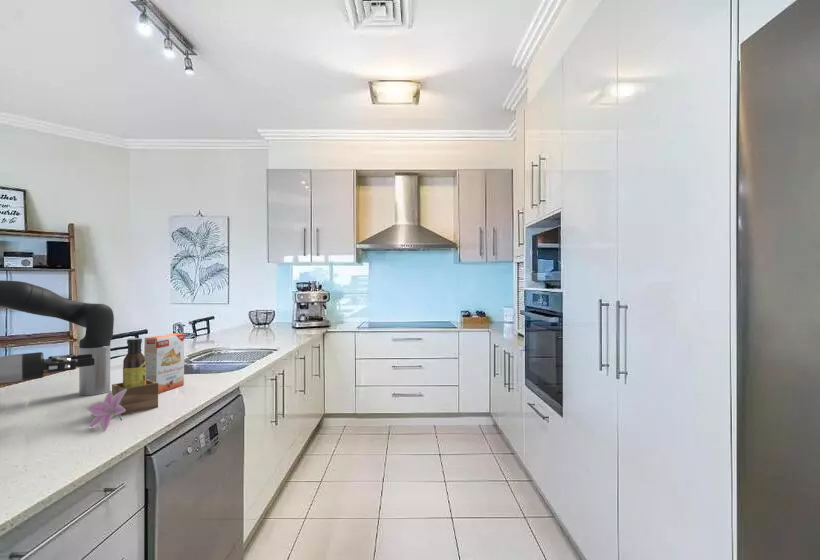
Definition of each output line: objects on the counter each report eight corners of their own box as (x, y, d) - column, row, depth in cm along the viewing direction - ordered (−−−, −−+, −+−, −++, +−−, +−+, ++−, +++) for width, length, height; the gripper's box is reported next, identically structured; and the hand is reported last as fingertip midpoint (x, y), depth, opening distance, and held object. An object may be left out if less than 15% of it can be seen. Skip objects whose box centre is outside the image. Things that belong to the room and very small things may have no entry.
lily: (88, 425, 120) (73, 402, 115) (132, 402, 127) (120, 379, 123) (100, 447, 113) (85, 424, 108) (145, 421, 120) (133, 398, 116)
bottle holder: (111, 408, 132) (112, 384, 132) (146, 401, 140) (146, 378, 140) (122, 415, 126) (122, 389, 126) (158, 407, 134) (158, 383, 134)
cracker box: (156, 394, 148) (156, 337, 148) (142, 394, 149) (143, 337, 150) (185, 385, 162) (185, 333, 162) (172, 384, 163) (172, 332, 163)
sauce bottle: (147, 399, 132) (148, 338, 132) (124, 403, 128) (125, 340, 128) (143, 395, 137) (143, 336, 137) (121, 399, 133) (121, 338, 133)
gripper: (19, 357, 109) (95, 350, 120) (21, 350, 120) (91, 344, 131) (19, 385, 110) (95, 375, 120) (22, 375, 120) (91, 367, 131)
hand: (93, 359), depth 126 cm, fingers open, 8 cm apart
